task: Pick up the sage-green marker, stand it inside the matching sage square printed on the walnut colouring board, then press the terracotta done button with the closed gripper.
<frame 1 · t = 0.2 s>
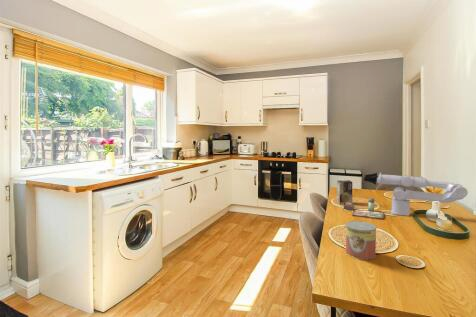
hand: (364, 177, 171), 21 cm above the table, tool horizontal, fingers open, 7 cm apart
sage marker: (371, 211, 169), on the table
colouring board: (368, 215, 160), on the table
canned food: (360, 254, 109), on the table
button housing: (349, 209, 174), on the table
done button: (349, 205, 174), point 3 cm above the table, slide at 0.0 cm
coffee box: (344, 203, 190), on the table
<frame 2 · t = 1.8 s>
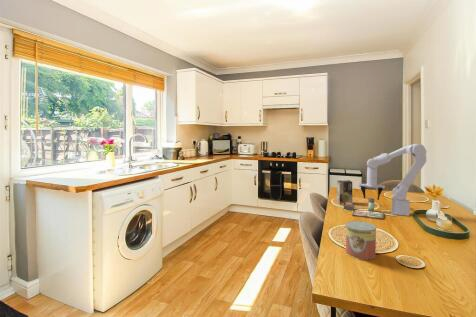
hand: (371, 198, 168), 8 cm above the table, tool pointing down, fingers open, 7 cm apart
nothing on the table moved.
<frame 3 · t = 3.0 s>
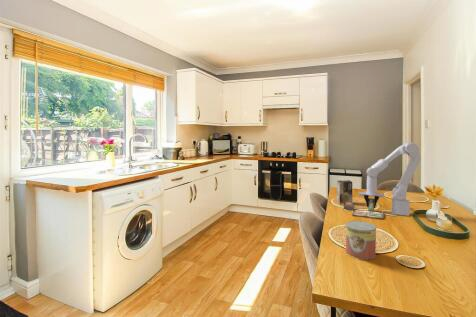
hand: (371, 207, 168), 2 cm above the table, tool pointing down, fingers closed on sage marker, 3 cm apart
sage marker: (371, 211, 169), on the table, touching gripper
everything else where it was.
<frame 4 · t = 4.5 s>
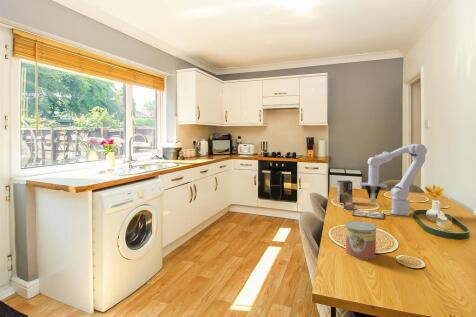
hand: (373, 198, 164), 9 cm above the table, tool pointing down, fingers closed on sage marker, 3 cm apart
sage marker: (372, 202, 164), point 7 cm above the table, touching gripper
everything else where it was.
when the fingers open (5 cm above the table, at t = 6.2 s): sage marker drops 1 cm, resting on colouring board.
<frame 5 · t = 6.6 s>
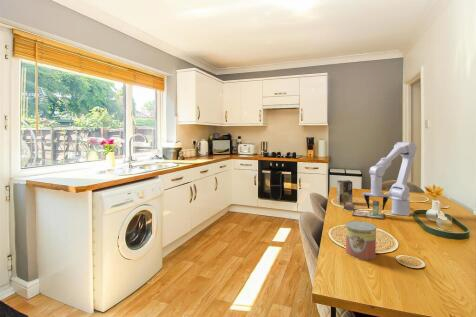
hand: (375, 208, 157), 5 cm above the table, tool pointing down, fingers open, 7 cm apart
sage marker: (375, 214, 158), point 1 cm above the table, touching colouring board
everything else where it was.
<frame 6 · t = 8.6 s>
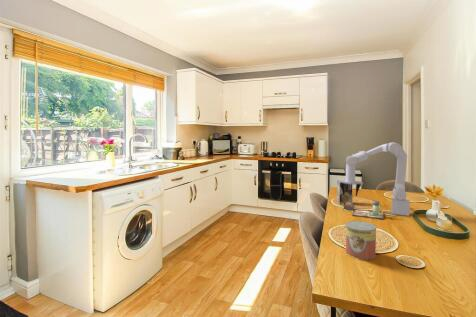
hand: (350, 195, 173), 10 cm above the table, tool pointing down, fingers open, 7 cm apart
nothing on the table moved.
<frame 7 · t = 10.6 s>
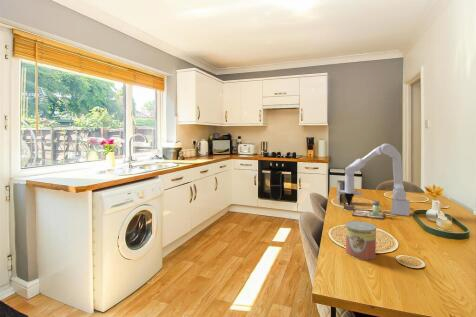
hand: (349, 204, 174), 3 cm above the table, tool pointing down, fingers closed, pressing on done button
done button: (349, 206, 174), point 2 cm above the table, slide at 0.8 cm, touching gripper
everything else where it was.
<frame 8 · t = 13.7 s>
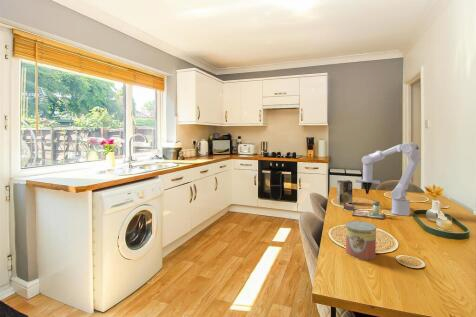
hand: (367, 193, 176), 9 cm above the table, tool pointing down, fingers closed
done button: (349, 206, 174), point 2 cm above the table, slide at 0.8 cm
everything else where it was.
at the end: sage marker 0.0 cm from the target spot on the colouring board, point 1.1 cm above the colouring board's base; sage marker tilted 2°; done button slide at 0.8 cm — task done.
